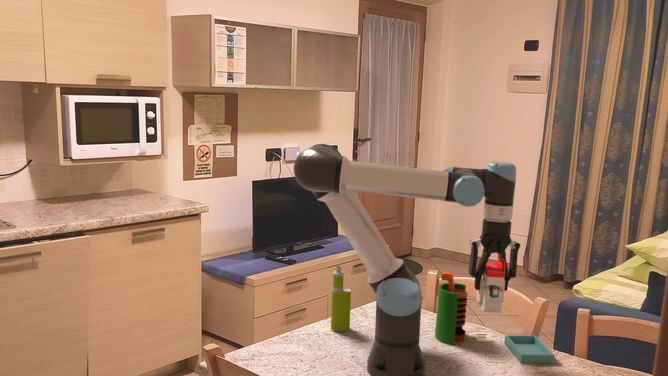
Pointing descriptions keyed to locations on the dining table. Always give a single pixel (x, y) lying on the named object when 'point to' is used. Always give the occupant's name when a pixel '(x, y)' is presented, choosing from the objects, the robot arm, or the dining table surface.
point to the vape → (340, 303)
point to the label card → (482, 337)
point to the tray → (529, 349)
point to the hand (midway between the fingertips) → (489, 300)
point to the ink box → (493, 286)
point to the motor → (451, 311)
